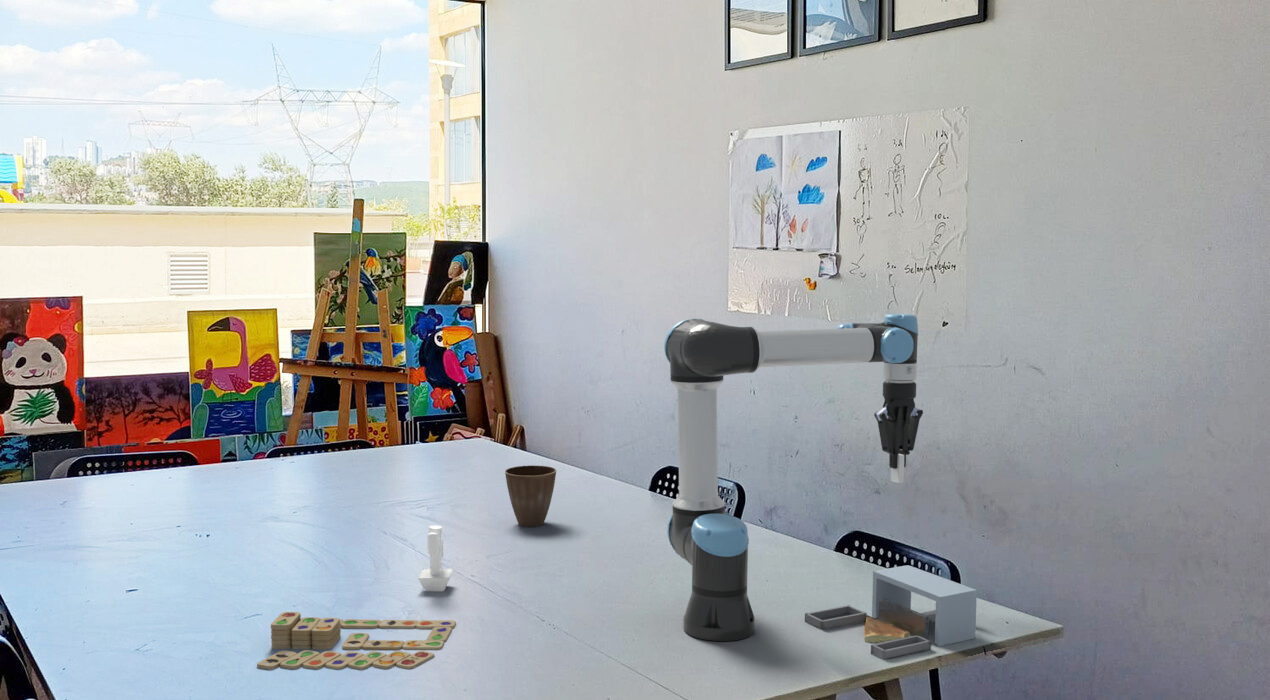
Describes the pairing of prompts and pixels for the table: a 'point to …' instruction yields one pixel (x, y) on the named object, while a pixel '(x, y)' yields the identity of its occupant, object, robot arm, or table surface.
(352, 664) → the pile of dominoes
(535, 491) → the plant pot
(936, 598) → the tunnel
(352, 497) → the table surface
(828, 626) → the tray
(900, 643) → the tray
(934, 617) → the plunger
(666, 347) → the robot arm
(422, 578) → the figurine
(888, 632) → the pizza slice
